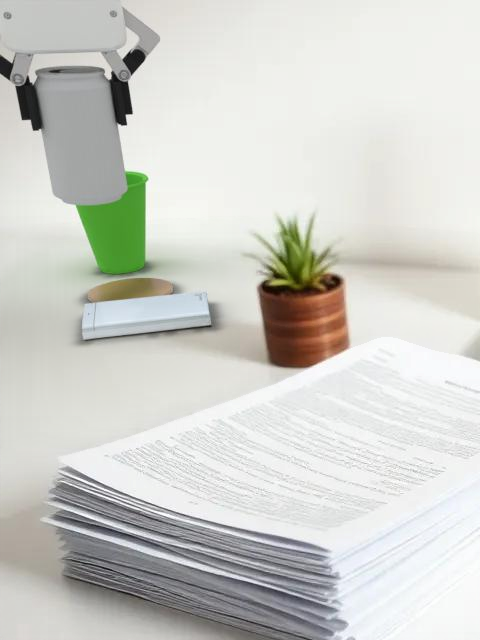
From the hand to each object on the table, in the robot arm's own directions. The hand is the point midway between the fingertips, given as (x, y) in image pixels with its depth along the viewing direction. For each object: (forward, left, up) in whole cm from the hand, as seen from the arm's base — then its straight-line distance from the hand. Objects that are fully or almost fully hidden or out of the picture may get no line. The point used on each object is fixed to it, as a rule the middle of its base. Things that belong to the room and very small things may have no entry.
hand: (79, 123), depth 104 cm
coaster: (-5, +19, -23) cm, 31 cm away
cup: (-9, +29, -23) cm, 38 cm away
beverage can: (0, 0, -7) cm, 7 cm away
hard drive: (0, +10, -23) cm, 25 cm away
